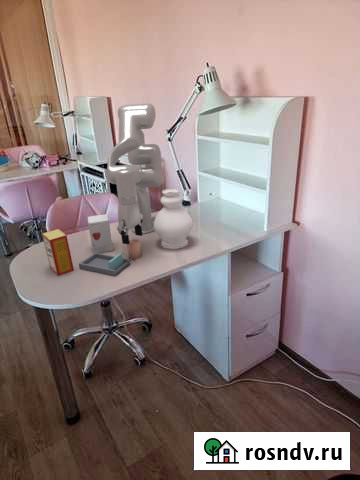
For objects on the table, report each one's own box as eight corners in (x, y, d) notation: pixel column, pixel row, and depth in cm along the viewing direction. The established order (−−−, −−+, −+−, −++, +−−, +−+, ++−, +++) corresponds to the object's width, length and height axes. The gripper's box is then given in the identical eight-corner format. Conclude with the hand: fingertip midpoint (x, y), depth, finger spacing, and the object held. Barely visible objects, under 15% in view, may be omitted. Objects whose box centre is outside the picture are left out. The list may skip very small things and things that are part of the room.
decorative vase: (189, 252, 146) (187, 197, 136) (150, 250, 149) (145, 196, 139) (196, 235, 162) (194, 185, 151) (160, 234, 165) (156, 185, 155)
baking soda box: (50, 267, 140) (41, 232, 134) (65, 262, 144) (57, 228, 137) (58, 276, 133) (49, 239, 127) (74, 270, 137) (66, 234, 130)
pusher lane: (96, 257, 146) (95, 252, 145) (130, 264, 139) (129, 259, 138) (79, 268, 138) (78, 263, 137) (115, 276, 130) (114, 271, 129)
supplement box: (93, 254, 150) (87, 223, 144) (92, 246, 158) (87, 216, 152) (113, 250, 152) (108, 219, 146) (111, 243, 160) (107, 213, 154)
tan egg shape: (133, 253, 149) (131, 238, 146) (143, 254, 146) (142, 240, 143) (126, 258, 144) (124, 243, 141) (137, 260, 142) (135, 245, 139)
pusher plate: (121, 262, 139) (120, 253, 137) (123, 262, 139) (122, 253, 137) (109, 271, 132) (107, 262, 131) (111, 272, 132) (110, 262, 130)
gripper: (132, 194, 143) (136, 231, 150) (107, 205, 129) (113, 246, 135) (147, 195, 140) (150, 233, 146) (123, 206, 126) (128, 248, 132)
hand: (132, 239), depth 141 cm, fingers open, 9 cm apart
